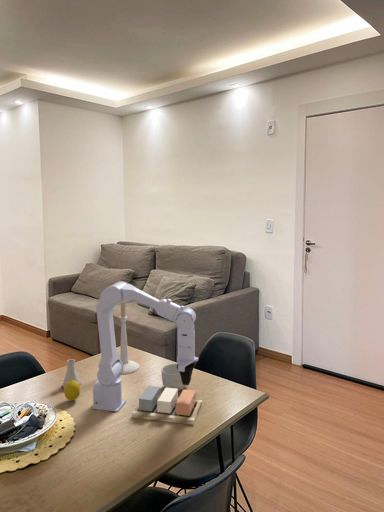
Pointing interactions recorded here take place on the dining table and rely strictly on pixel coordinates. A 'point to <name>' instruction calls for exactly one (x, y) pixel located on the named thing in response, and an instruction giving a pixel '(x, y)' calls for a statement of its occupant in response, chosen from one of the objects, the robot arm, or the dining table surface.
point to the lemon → (72, 390)
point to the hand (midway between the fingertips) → (186, 383)
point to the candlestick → (125, 345)
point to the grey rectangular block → (149, 398)
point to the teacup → (172, 377)
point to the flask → (71, 373)
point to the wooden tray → (168, 417)
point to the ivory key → (167, 400)
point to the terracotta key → (186, 402)
